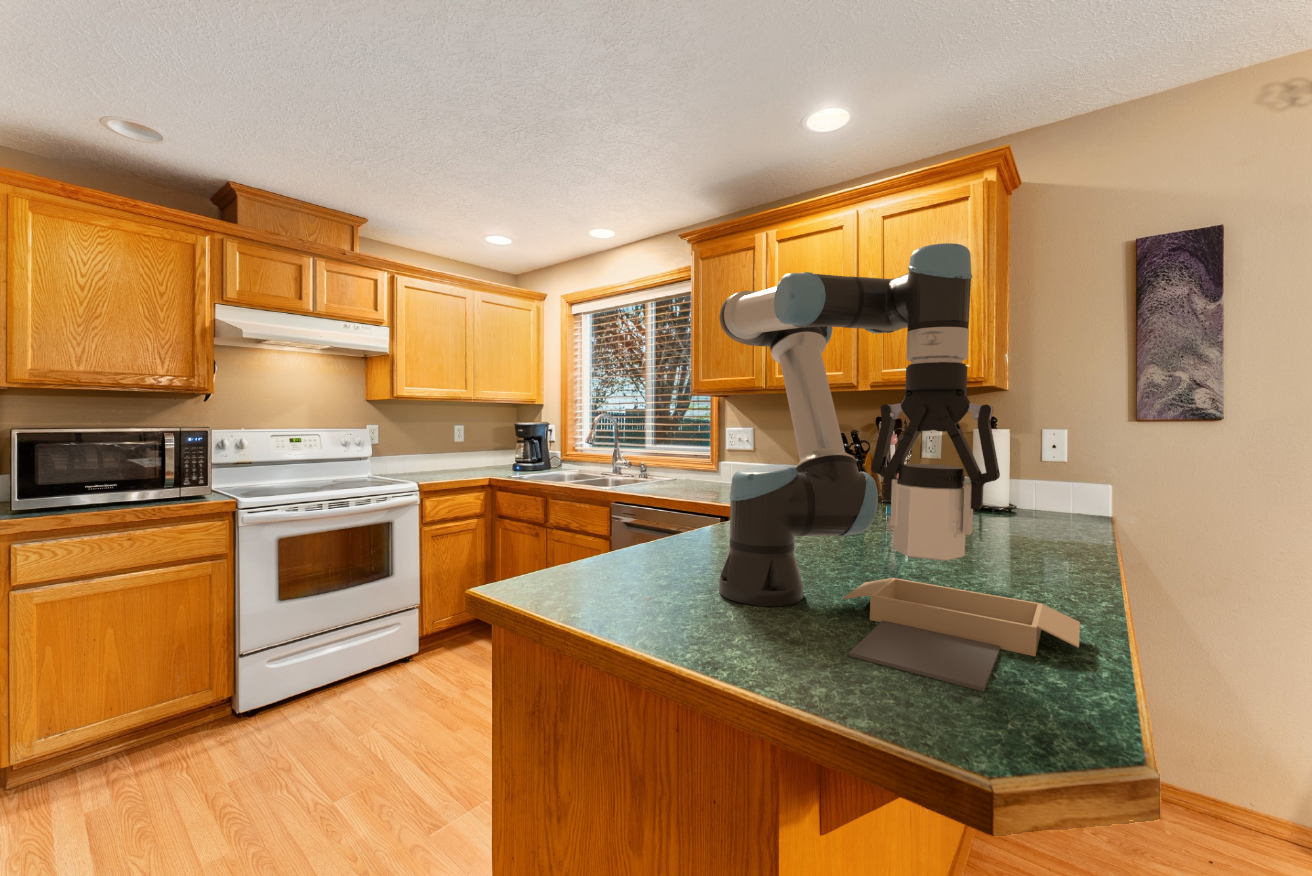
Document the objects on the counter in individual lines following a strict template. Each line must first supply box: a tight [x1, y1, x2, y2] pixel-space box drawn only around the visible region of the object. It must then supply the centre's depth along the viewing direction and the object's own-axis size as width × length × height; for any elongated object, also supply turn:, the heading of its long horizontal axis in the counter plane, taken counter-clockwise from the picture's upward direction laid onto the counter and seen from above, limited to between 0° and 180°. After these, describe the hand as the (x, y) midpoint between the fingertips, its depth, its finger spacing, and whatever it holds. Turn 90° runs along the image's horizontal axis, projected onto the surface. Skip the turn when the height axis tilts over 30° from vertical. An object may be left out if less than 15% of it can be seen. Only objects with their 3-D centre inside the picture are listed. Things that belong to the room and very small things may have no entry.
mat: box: [848, 621, 1001, 692], centre depth 79 cm, size 16×16×1 cm
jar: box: [892, 463, 966, 562], centre depth 79 cm, size 9×8×12 cm
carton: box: [842, 577, 1081, 657], centre depth 90 cm, size 32×13×4 cm, turn 53°
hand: (930, 528), depth 79 cm, fingers closed on jar, 8 cm apart
